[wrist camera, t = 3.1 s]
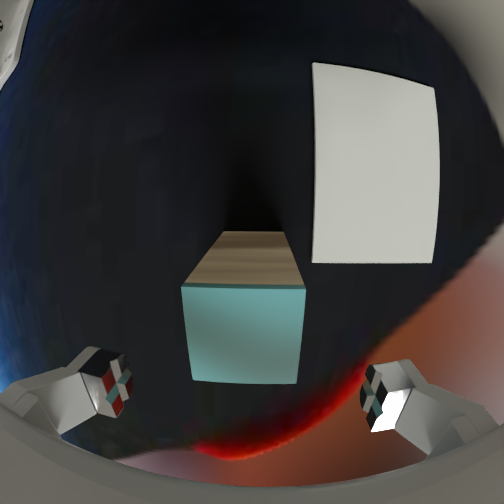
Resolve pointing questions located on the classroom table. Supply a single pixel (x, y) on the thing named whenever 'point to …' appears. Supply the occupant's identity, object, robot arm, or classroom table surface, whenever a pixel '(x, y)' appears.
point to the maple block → (245, 310)
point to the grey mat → (373, 167)
